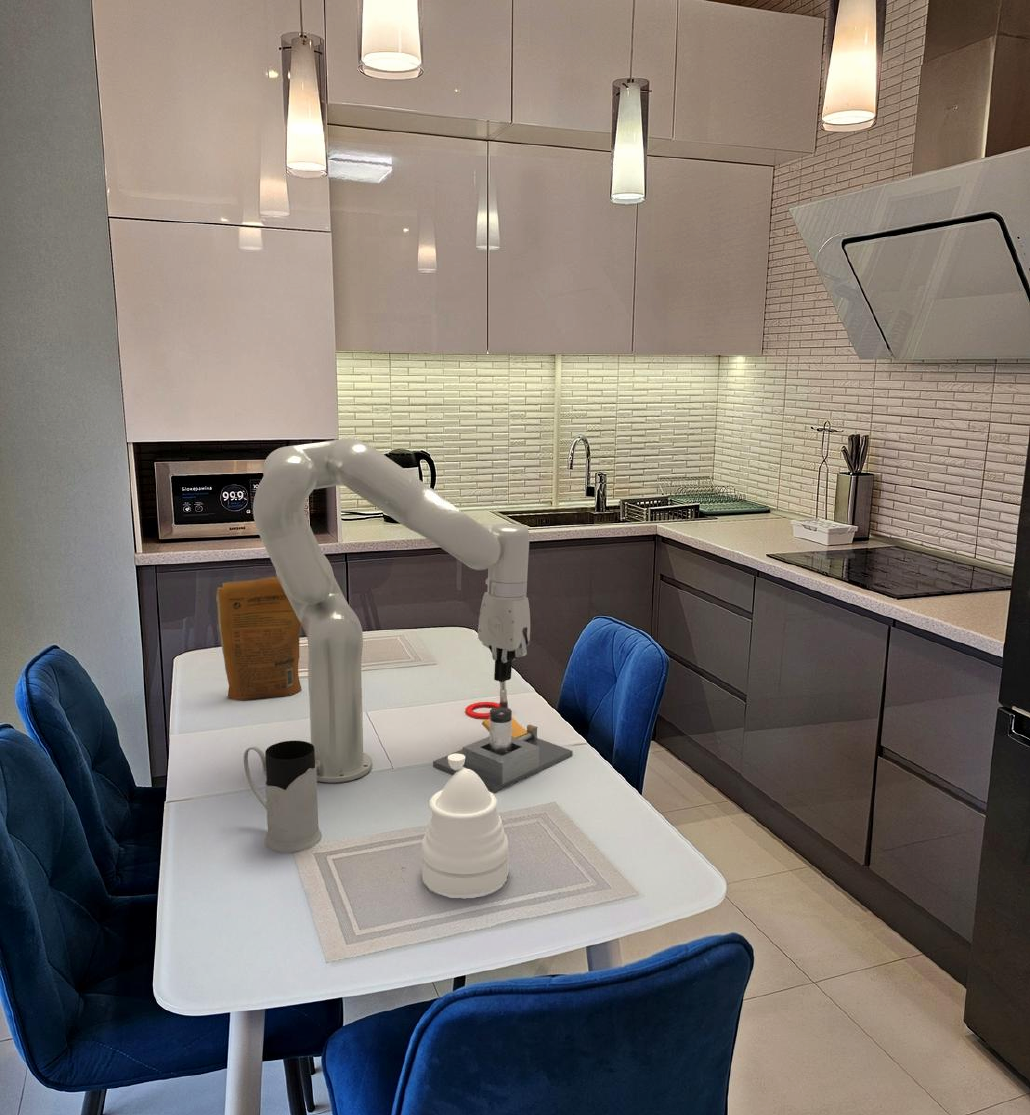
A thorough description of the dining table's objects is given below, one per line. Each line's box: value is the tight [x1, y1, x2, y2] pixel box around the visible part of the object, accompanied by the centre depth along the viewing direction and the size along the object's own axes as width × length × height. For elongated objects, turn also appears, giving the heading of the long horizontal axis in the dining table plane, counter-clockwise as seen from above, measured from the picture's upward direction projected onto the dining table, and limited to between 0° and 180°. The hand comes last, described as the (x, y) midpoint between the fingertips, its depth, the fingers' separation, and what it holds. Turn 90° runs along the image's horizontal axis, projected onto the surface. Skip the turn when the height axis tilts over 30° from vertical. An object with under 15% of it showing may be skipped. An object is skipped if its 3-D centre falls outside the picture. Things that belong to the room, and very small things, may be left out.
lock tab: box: [481, 716, 532, 741], centre depth 180 cm, size 8×1×8 cm
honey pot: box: [421, 753, 510, 895], centre depth 132 cm, size 13×13×18 cm
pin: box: [489, 707, 513, 756], centre depth 167 cm, size 4×4×11 cm
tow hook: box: [464, 681, 509, 720], centre depth 197 cm, size 8×13×9 cm
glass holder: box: [243, 740, 323, 854], centre depth 144 cm, size 9×14×15 cm, turn 61°
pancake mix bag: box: [215, 576, 303, 702], centre depth 203 cm, size 7×19×28 cm, turn 110°
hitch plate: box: [432, 724, 573, 794], centre depth 173 cm, size 22×16×5 cm
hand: (502, 679), depth 177 cm, fingers closed
